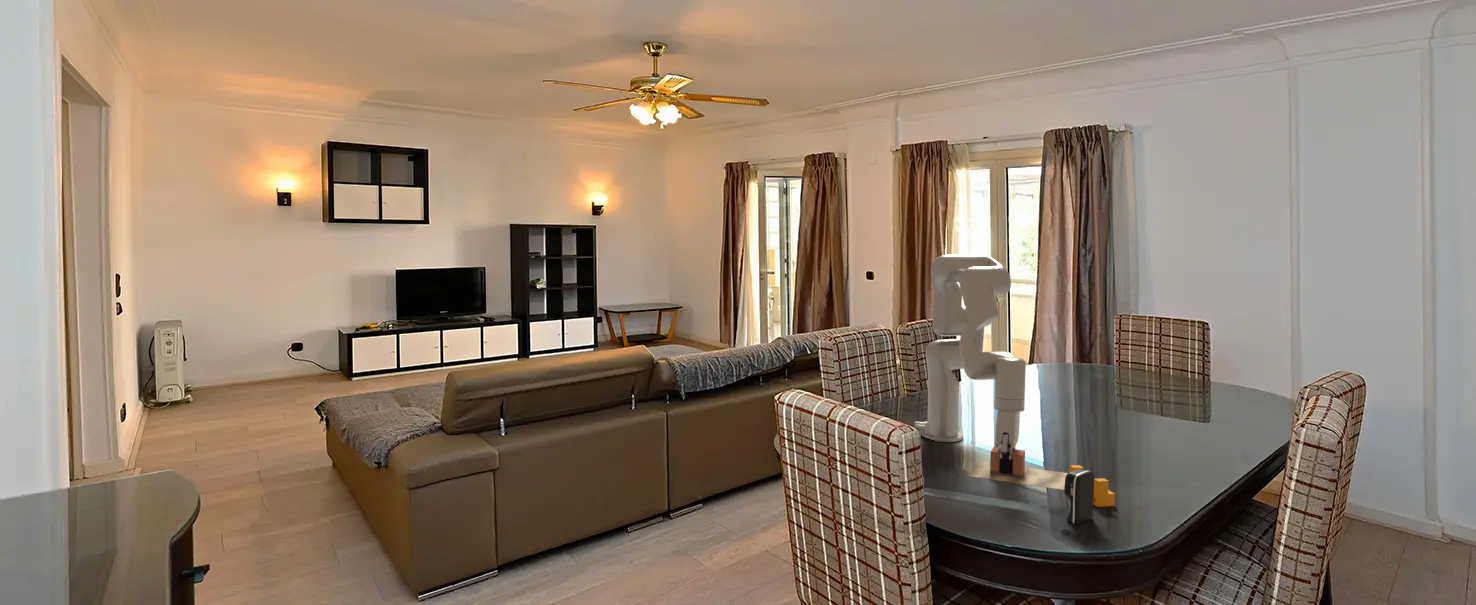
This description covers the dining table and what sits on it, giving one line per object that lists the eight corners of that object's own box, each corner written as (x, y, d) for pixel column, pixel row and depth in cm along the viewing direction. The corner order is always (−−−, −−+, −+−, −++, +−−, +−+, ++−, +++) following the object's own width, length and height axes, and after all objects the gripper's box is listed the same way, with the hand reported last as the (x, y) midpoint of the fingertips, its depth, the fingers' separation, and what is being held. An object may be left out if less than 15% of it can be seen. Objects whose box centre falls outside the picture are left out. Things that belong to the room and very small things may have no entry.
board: (968, 481, 192) (968, 476, 192) (977, 466, 205) (977, 461, 205) (1067, 496, 181) (1067, 490, 181) (1070, 479, 194) (1071, 473, 194)
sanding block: (990, 473, 194) (990, 451, 193) (993, 468, 198) (993, 446, 198) (1022, 478, 190) (1022, 455, 190) (1024, 472, 195) (1025, 450, 194)
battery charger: (1077, 513, 170) (1079, 465, 169) (1093, 518, 167) (1095, 470, 166) (1060, 520, 166) (1062, 471, 165) (1076, 525, 163) (1078, 476, 162)
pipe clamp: (1114, 506, 175) (1115, 480, 174) (1097, 507, 174) (1098, 481, 174) (1084, 489, 187) (1085, 464, 186) (1068, 490, 186) (1069, 465, 185)
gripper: (999, 395, 202) (997, 459, 204) (989, 409, 187) (987, 477, 189) (1028, 398, 198) (1026, 463, 200) (1020, 412, 183) (1018, 482, 185)
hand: (1007, 469), depth 194 cm, fingers closed on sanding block, 5 cm apart
